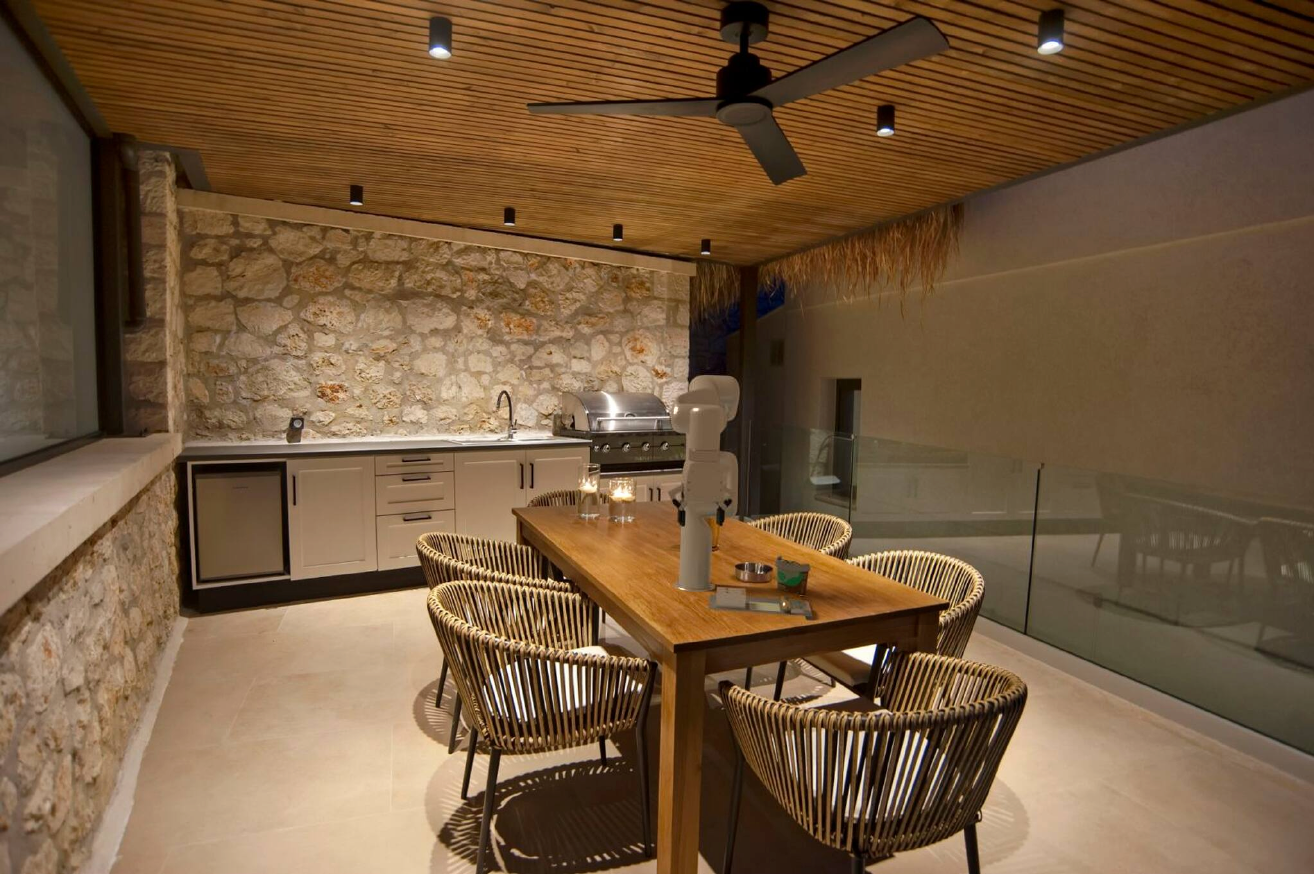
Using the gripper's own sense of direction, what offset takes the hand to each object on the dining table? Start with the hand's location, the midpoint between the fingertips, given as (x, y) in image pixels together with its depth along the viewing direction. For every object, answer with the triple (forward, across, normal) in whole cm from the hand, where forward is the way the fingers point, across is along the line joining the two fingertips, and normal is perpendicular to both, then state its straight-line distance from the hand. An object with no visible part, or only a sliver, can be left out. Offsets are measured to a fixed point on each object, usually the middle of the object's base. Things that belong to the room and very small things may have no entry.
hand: (700, 525), depth 175 cm
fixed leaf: (+26, -32, -12) cm, 43 cm away
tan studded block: (+26, -15, -18) cm, 35 cm away
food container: (+28, -38, -30) cm, 55 cm away
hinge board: (+27, -23, -17) cm, 40 cm away
